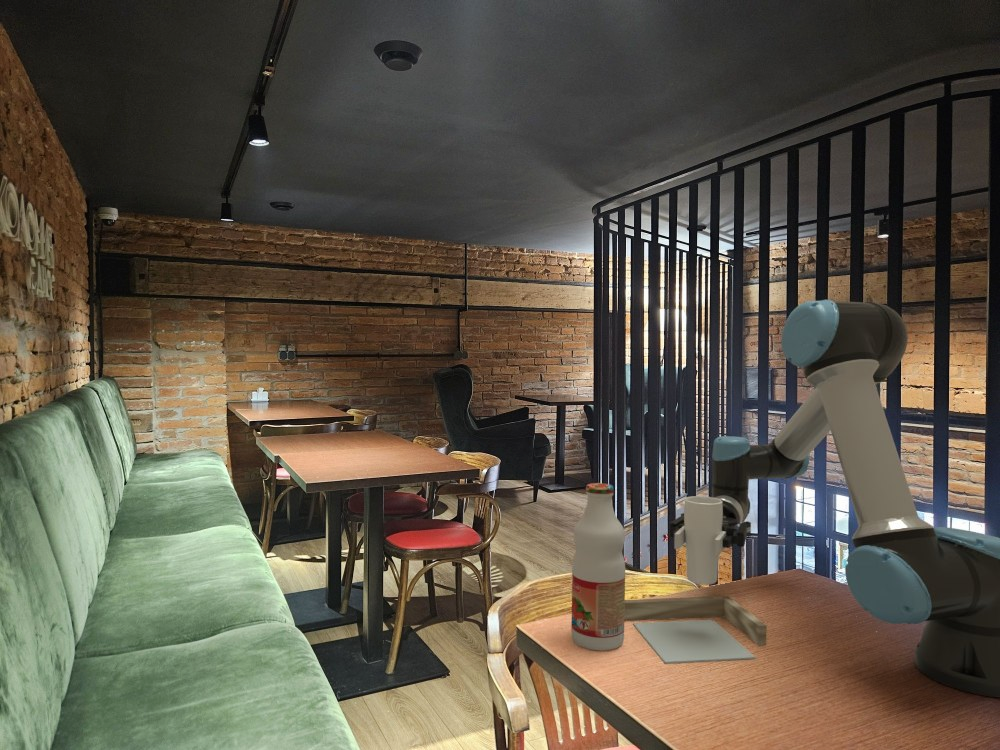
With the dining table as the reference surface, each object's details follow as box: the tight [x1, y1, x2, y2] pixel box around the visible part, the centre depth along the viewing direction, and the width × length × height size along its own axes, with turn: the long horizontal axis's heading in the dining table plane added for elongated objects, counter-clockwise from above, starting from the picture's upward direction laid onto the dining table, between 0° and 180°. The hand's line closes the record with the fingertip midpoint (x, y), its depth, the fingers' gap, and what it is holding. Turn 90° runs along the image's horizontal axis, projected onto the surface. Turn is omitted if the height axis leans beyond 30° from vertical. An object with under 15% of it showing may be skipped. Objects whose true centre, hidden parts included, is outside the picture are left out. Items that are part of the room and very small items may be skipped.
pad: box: [632, 619, 756, 665], centre depth 118 cm, size 16×16×1 cm
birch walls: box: [624, 595, 768, 646], centre depth 122 cm, size 14×24×4 cm, turn 97°
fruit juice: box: [570, 482, 626, 652], centre depth 117 cm, size 9×9×28 cm
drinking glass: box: [683, 495, 723, 586], centre depth 120 cm, size 7×7×15 cm
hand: (696, 544), depth 116 cm, fingers closed on drinking glass, 6 cm apart
